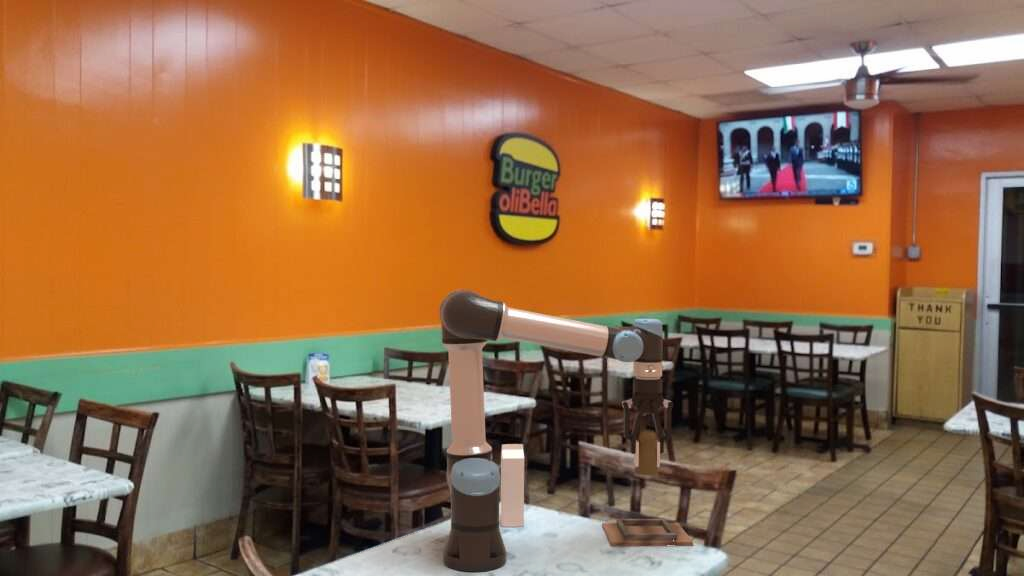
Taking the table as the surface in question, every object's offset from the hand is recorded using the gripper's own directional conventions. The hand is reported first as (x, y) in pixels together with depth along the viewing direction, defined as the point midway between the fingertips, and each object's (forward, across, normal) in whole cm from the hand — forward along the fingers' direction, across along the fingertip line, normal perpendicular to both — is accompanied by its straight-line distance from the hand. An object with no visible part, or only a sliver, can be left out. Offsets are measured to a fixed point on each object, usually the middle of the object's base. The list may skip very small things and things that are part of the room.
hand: (646, 465), depth 216 cm
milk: (+19, -35, +11) cm, 41 cm away
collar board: (+19, 0, 0) cm, 19 cm away
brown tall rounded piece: (+2, 0, 0) cm, 2 cm away
